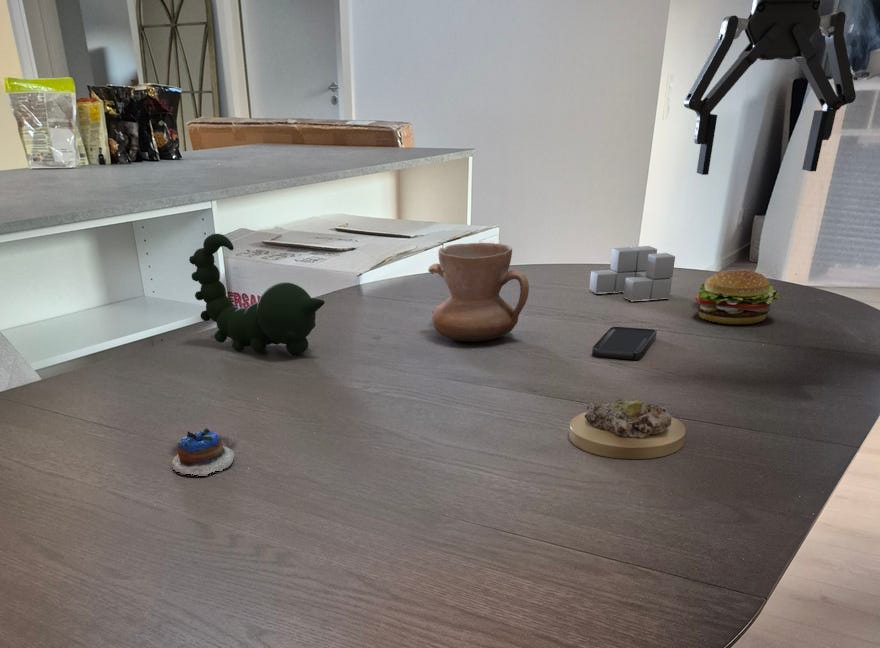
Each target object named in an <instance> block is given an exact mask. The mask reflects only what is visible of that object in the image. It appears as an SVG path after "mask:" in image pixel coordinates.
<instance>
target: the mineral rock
mask: <svg viewBox="0 0 880 648" xmlns="http://www.w3.org/2000/svg"><path fill="white" fill-rule="evenodd" d="M585 412H586V413H587V414H586V415H585V419H586V420H587V421H588V422H590V425H592V426H593V427H595V428H596V427H597V428H599V429H601V430H606V431H611V432H614V433H616V434H617V435H619V436H622V437H629V438H632V437H638V438H645V437H646V436H648V435H649V434H655V433H659V432H660V433H661V432H663V431H664V430H667V429H668V427H669V426H670V425H671V417H672V416H671V415H670V412H668V409H666V407H664V406H659V405H658V404H656V405H655V404H652V403H651V404H645V403H643V400H642V399H636V400H631V401H629V400H627V399H624V398H617V399H616V400H614V401H613V402H607V403H599V402H590V403H589V404H588V406H587V407H586V411H585ZM670 416H671V417H670Z"/></svg>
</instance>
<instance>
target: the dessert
mask: <svg viewBox="0 0 880 648" xmlns="http://www.w3.org/2000/svg"><path fill="white" fill-rule="evenodd" d="M176 451H177V454H176V455H175V456H174V458H173V459H172V461H171V468H172V467H173V468H174V469H175V470H176V471H178V472H181V473H183V474H182V475H186V474H191V475H190V476H194V475H196V474H199V473H200V474H208V473H211V472H213V473H216V472H215V471H219V470H223V469H225V468H226V469H227V468H229V466H231V465H232V463H233V461H234V458H235V452H234V451H233V450H232V449H231V448H229V447H227V446H224V443H223V440H222V437H221V435H219V434H218V433H216V431H212V430H210V429H208V427H207V428H206V427H205V429H203V430H200V431H199V432H197V431H196V432H191V431H189V430H187V432H186V436H184V437H183V438H181V439H180V441H179V442H178V444H177V446H176ZM226 469H225V470H226ZM192 474H193V475H192Z"/></svg>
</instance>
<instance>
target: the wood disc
mask: <svg viewBox="0 0 880 648" xmlns="http://www.w3.org/2000/svg"><path fill="white" fill-rule="evenodd" d="M586 412H587V411H585V412H581V413H580V414H577V415H575V416H574V417H573V418H572V419H571V420H570V423H569V431H568V438H569V440H570V443H572V444H573V445H574V446H575V447H577V448H579V449H580V450H583V451H585V452H586V453H590V454H593V455H597V456H601V457H605V458H612V459H621V460H649V459H657V458H661V457H667V456H670V455H673V454H674V453H676V452H678V451H680V450H681V449H682V448H683V447H684V444H685V439H686V433H687V428H686V426H685V424H684V423H683V422H682V421H680V419H677V418H675V417H673V416H672V415H670V417H671V425H670V426H669V427H668V429H667V430H664V431H663V432H661V433H660V432H659V433H655V434H649V435H648V436H646V437H645V438H638V437H632V438H629V437H622V436H619V435H617V434H616V433H614V432H611V431H606V430H601V429H599V428H597V427H596V428H595V427H593V426H592V425H590V422H588V421H587V420H586V419H585V415H586V414H587V413H586Z"/></svg>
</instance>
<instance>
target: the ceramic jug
mask: <svg viewBox="0 0 880 648" xmlns="http://www.w3.org/2000/svg"><path fill="white" fill-rule="evenodd" d="M437 251H438V252H437V253H438V254H437V255H438V263H433V264H431V265H430V266H428V269H427V270H428V272H429V273H431V274H432V275H433V274H438V276H440V277H442V278H443V279H444V282H445V285H446V287H447V289H448V293H449V296H448V297H447V299H445V300H444V301H442V302H441V303H440V304H438V306H436V308H435V309H433V310H432V311H431V314H432V315H431V323H432V326H433V328H434V330H435V331H436V333H438V334H440V335H441V336H443V337H445V338H446V339H447V338H448V339H451V340H453V341H458V342H468V343H469V342H470V343H473V342H474V343H475V342H484V341H490V340H495V339H498V338H501V337H503V336H505V335H507V334H509V333H510V332H511V331H513V330H514V328H515V327H516V325H517V324H518V321H519V316H520V314H521V312H522V310H524V307H525V305H526V303H527V300H528V297H529V292H530V284H529V280H528V277H527V275H526V274H524V272H522V271H520V270H518V269H517V270H516V269H513V270H510V265H511V262H512V257H513V248H512V246H511V245H507V244H502V243H494V242H469V243H455V244H448V245H446V246H445V247H440V248H439V249H438V250H437ZM511 280H516V281H518V282H519V286H520V287H519V296H518V301H517V303H516V306H515V307H514V308H513V307H512V306H511V304H509V303H508V302H506V301H505V300H504V299H503V298H502V297H501V296H500V293H501V290H502V288H503V287H504V285H506V284H507V283H508V282H510V281H511Z"/></svg>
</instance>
